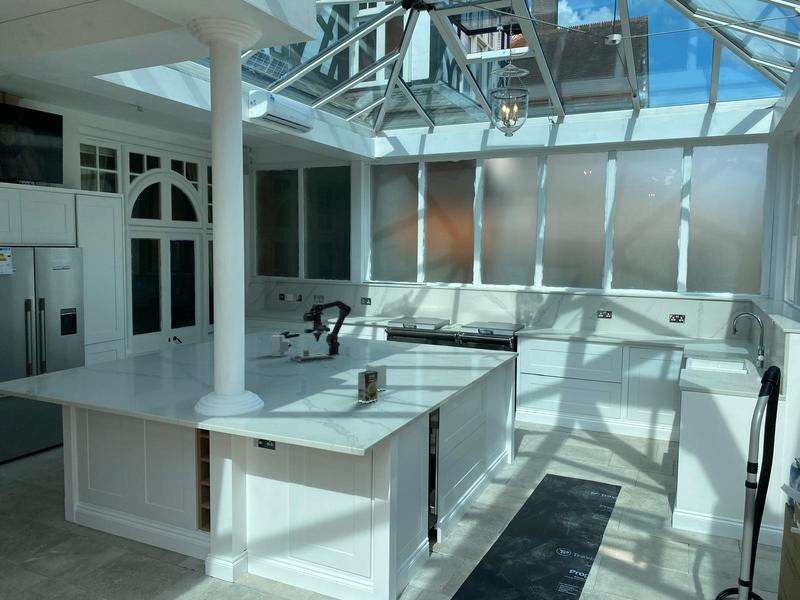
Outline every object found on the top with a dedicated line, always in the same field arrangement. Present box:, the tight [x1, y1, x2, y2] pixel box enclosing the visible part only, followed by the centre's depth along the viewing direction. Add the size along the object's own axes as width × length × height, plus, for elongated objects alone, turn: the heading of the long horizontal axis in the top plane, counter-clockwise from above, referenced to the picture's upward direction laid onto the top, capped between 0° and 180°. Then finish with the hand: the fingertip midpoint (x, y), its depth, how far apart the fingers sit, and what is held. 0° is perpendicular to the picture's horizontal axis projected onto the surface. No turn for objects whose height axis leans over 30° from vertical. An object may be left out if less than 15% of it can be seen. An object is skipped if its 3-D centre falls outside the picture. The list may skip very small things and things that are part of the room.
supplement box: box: [365, 362, 387, 389], centre depth 365 cm, size 9×9×15 cm
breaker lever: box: [302, 348, 310, 356], centre depth 455 cm, size 3×3×6 cm
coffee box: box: [357, 370, 379, 401], centre depth 339 cm, size 9×6×16 cm
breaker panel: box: [290, 352, 336, 364], centre depth 458 cm, size 26×20×3 cm
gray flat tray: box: [293, 355, 332, 361], centre depth 458 cm, size 23×14×1 cm, turn 120°
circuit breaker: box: [270, 334, 293, 357], centre depth 471 cm, size 8×14×15 cm, turn 89°
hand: (317, 341), depth 467 cm, fingers closed
